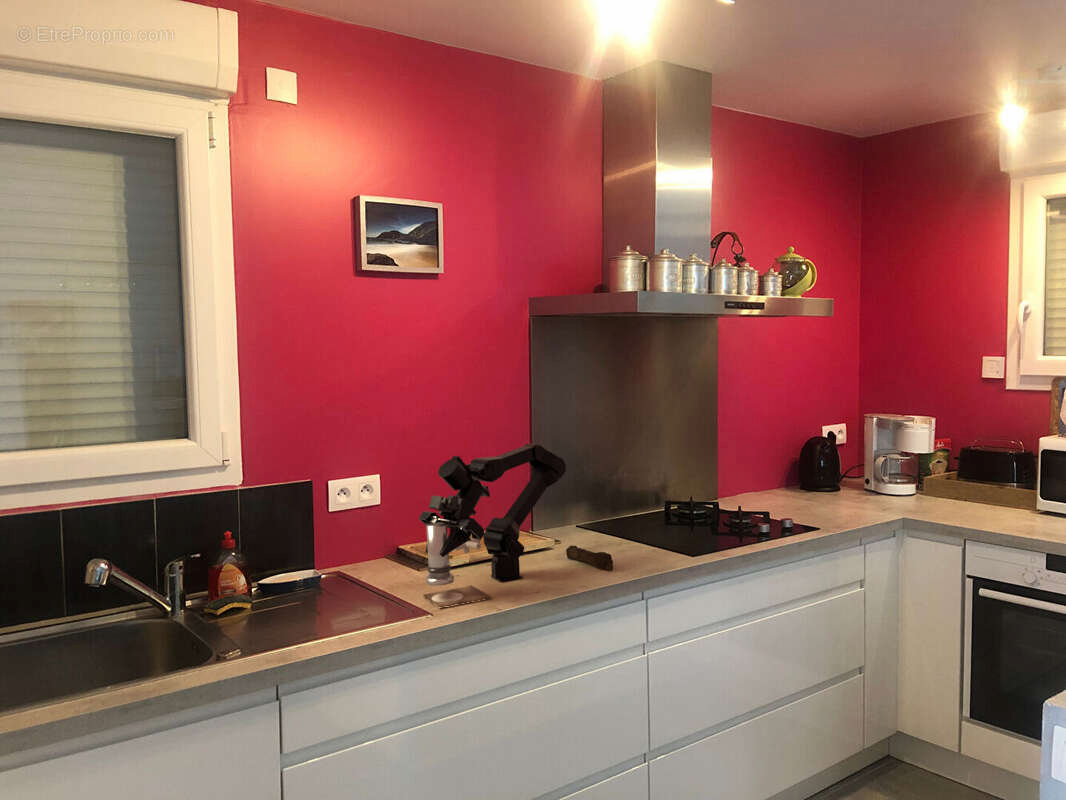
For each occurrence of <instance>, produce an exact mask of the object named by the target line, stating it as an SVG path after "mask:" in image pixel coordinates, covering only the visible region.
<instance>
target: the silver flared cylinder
mask: <svg viewBox="0 0 1066 800" xmlns="http://www.w3.org/2000/svg"><path fill="white" fill-rule="evenodd" d="M425 529H426V540H427V542H426V546H427V545H428V554H427V558H428V567H427V572H428V575H426V576H425V584H426V585H429V586H433V587H434V586H435V587H436V586H438V587H439V586H448V585H451V584H452V583H454V582H455V575H454V574H453V573H451V572H450V571H451V570H452V565H450V553H448V554H447V555H445V556H444V557H442V556H441V555H440V553H441V550H442V548H443V546H444V544H445V542H446V540H447V538H448V536H449V534H448V533H449V530H448V528H447V523H442V522H438V523H430V524H427V525H425Z"/></svg>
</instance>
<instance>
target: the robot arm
mask: <svg viewBox="0 0 1066 800" xmlns="http://www.w3.org/2000/svg"><path fill="white" fill-rule="evenodd" d="M527 463H528V464H529V466H530V467H532V468H531V478H530V480H529V481H528V482H527V484H526V486H525V487H524V488H523V489H522V491H521V492H520V493H519V495H518V497H517V498H516V500H515V501H514V502H513V504H511V507H510V508H509V509H508V511H507V512H506V513H505V515H504V516H503V517H502V518H501V517H495V516H494V517H493V518H492V519H491V521H490V523H489V524H488V525H487V526H486V527H485V528H484V527H483V526H482V525H481V524H480V523H479V522H478V521H477V520H476V519H475V518H472V517H471V516H476V514H477V511H476V510H475V508H476V507H477V505H478V503H479V502H480V500H481V498H482V497H484V498H485V497H486V498H489V497H490V496H491V493H490V491H489V486H488V485H483V483H481V482H484V483H494V482H496V481H497V480H498V479H500V478H502V477H503V476H504V474H505V472H507V471H509V470H513V469H515V468H517V467H519V466H523V465H525V464H527ZM566 470H567V465H566V462H565V460H564V459H563V458H562V457H561V456H558V455H556V454H554V453H553V452H552V451H549V450H547V449H545V447H544V446H542V445H540V444H537V443H527V444H524V445H523V446H520V447H518V448H515V449H512V450H511V451H506V452H504V453H502V454H498V455H497V456H486V457H485V456H483V457H476V458H473V459H472V460H470V463H467V464H466V463H465V462H464V461H463V459H462V458H461V457H460V455H459V456H458V455H453V456H452V457H451V459H448V460H446V461H445V462H444V463H443V464H441V465H440V467H439V468H438V472H437V474H438V476H439V477H440V478H441V479H442V480H443V481H444V482H445V483H446V484H447V485H448V486H449V488H451V489H452V491H457V492H456V494H455V495H452V494H449V495H448V496H447V497H444V496H440V495H431V498H430V501H429V504H428V508H429V509H431V510H435V511H438V513H436V512H434V511H428V510H424V511H422V512H421V513H420V516H419V517H418V520H419V521H420V522H421V523H423V524H424V525H425V526H426V525H427V524H430V523H438V522H442V523H447V529H449V534H448V538H447V540H446V542H445V544H444V546H443V548H442V550H441V553H440V555H441V556H442V557H444V556H445V555H447V554H448V553H449V554H450V553H452V552H454V551H453V550H454V549H456V548H457V547H459V546H461V545H462V544H464V543H466V542H467V541H471V538H472V539H476V540H480V541H482V538H483V544H484V546H485V548H486V550H487V554H488V555H492V561H491V562H490V563H491V564H490V565H491V567H490V568H491V569H490V570H491V575H490V578H492V579H495V580H496V581H498V582H501V583H503V582H508V581H514V580H519V579H523V578H524V577H523V575H522V574H521V571H520V557H521V556H523V555H524V551H525V546H524V545H523V544H522V543H521V542H520V541H519V539H520V528H521V526H522V525H523V523H524V522H525V520H526V519H527V517H529V515H530V513H531V512H532V510H533V509H534V507H535V506H536V505H537V502H538V501H539V500H540V498H542V496H543V494H544V492H546V490H547V489H548V488H549V487H551V486H553V485H554V484H556V483H558V482H559V481H560V480H561V479H562V478H563V477H564V475H565V473H566ZM438 514H439V515H438ZM425 553H426V554H427V555H428V545H427V544H426V547H425Z"/></svg>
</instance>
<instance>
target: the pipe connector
mask: <svg viewBox="0 0 1066 800" xmlns="http://www.w3.org/2000/svg"><path fill="white" fill-rule="evenodd" d="M470 539H471V538H470ZM481 547H482V545H481V540H476V539H473V538H472V539H471V541H467V542H466V543H464V544H462V545H461V546H459V547H457V548H456V549H454V550H453V551H452V552H456V551H460V550H462V554H463V553H468V552H469V553H470V549H472V550H474V549H475V550H480V549H481Z"/></svg>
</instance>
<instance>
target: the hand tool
mask: <svg viewBox="0 0 1066 800" xmlns="http://www.w3.org/2000/svg"><path fill="white" fill-rule="evenodd" d="M565 553H566V556H567V559H569V560H572V561H573V560H576V561H580V562H582V563H585V564H589V565H592V566H595V567H596V569H598V570H601V571H608V572H612V571H613V570H614V560H613V557H612V555H611V554H610V553H609V552H608V553H607V552H605V551H598V552H597V551H596V552H594V551H590V550H586V549H584V548H581V547H578V546H577V545H569V546H568V547H567V548H566V550H565Z"/></svg>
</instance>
